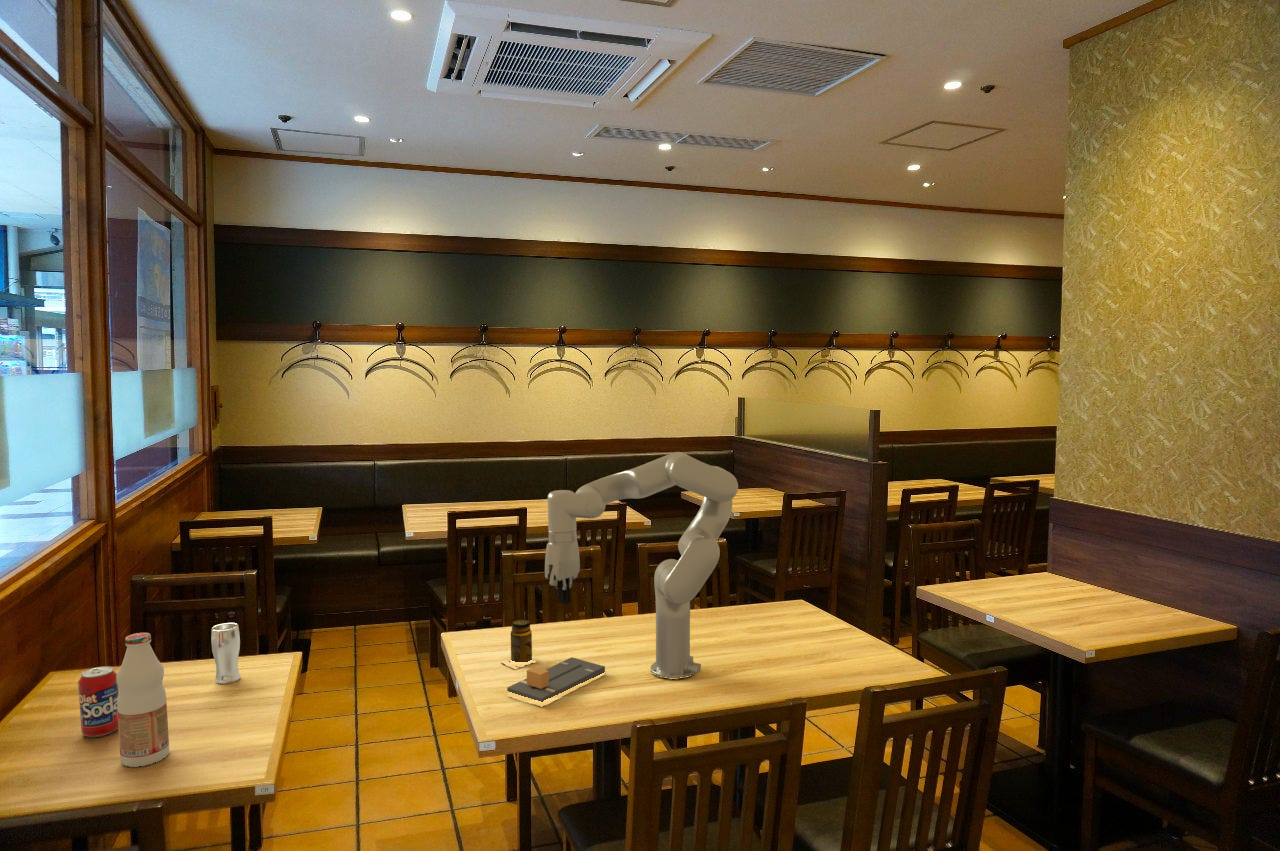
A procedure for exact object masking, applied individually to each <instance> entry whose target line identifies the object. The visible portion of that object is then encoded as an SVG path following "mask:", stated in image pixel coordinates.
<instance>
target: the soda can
mask: <svg viewBox="0 0 1280 851" xmlns="http://www.w3.org/2000/svg"><path fill="white" fill-rule="evenodd" d="M80 675H81V676H80V677H79V679H78V681H77V685H78V686H77V687H78V688H77V689H78V700H79V702H78V703H79V715H80V727H81V734H82V735H83V736H86V737H89V738H99V737H100V738H101V737H106V736H108V735H110V734H112V733H114V732H115V731H116V730H119V727H118V712H117V699H118V695H119V692H120V691H119V688H118V686H117V682H116V675H117V672H116V671H115V669H114V667H113V666H110V665H109V666H108V665H104V666H97V667H91V668H89V669H86V670H83V671H82V672H81V674H80Z"/></svg>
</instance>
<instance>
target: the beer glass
mask: <svg viewBox="0 0 1280 851" xmlns="http://www.w3.org/2000/svg"><path fill="white" fill-rule="evenodd" d="M240 645H241V639H240V628H239V624H238V623H235V622H226V623H219V624H216V625H213V627H211V651H212V655H213V659H214V662H215V668H216V673H215V681H214V682H215V684H218V683H219V685H228V684H231V682H233V683H235V682H237V681H239V680H240V679H241V676H240V672H239V665H238V664H239V655H240V647H241V646H240ZM238 679H239V680H238ZM234 681H235V682H234ZM220 683H221V684H220ZM227 683H228V684H227Z"/></svg>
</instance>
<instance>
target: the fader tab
mask: <svg viewBox="0 0 1280 851" xmlns="http://www.w3.org/2000/svg"><path fill="white" fill-rule="evenodd" d="M526 678H527V685H530V686H533V687H537V688H540V689H542V688H544V687H546V686H548V685H549V671H547V670H546V669H543V668H540V667H537V666H533V667H531V668H529V669H527V670H526Z"/></svg>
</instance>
